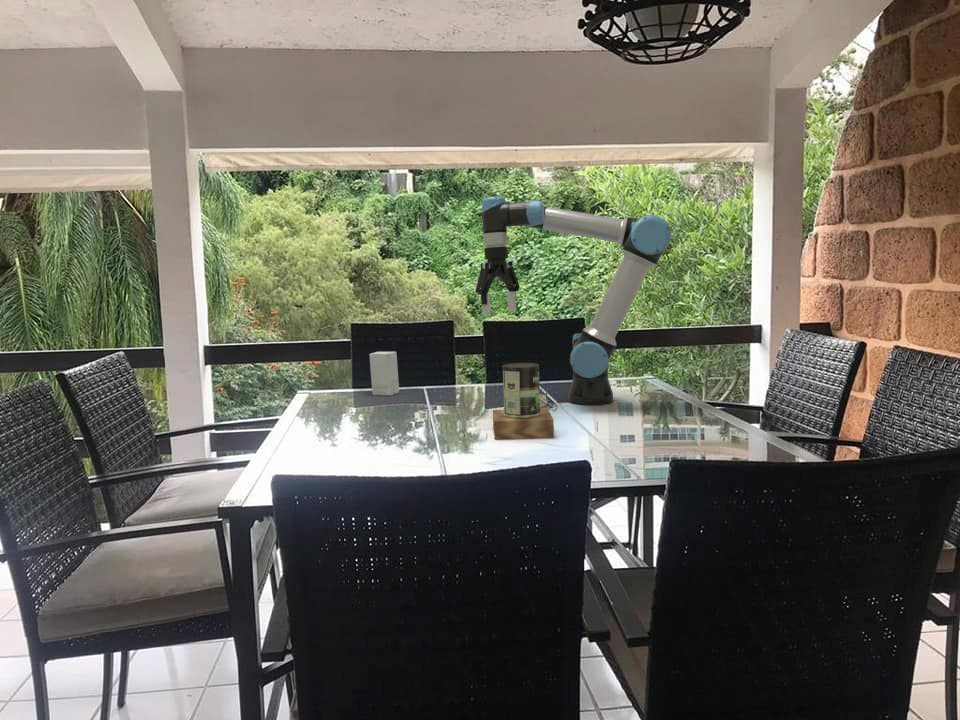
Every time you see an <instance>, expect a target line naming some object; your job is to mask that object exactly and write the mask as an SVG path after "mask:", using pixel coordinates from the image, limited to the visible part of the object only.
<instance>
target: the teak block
mask: <svg viewBox="0 0 960 720" xmlns="http://www.w3.org/2000/svg"><path fill="white" fill-rule="evenodd" d="M554 422H555V421H554V418H553V416H552V414H551V412H550V410H548V408H545V409H540V415H539V416H536V417H530V418H511V417H506V416H504V409H493V410H492V427H493V435H494V436H495V437H494V436H493V437H494V440H520V439H521V440H522V439H524V440H527V439H554V436H555V431H554V430H555V429H554V428H555V426H554V425H555V424H554Z"/></svg>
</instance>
